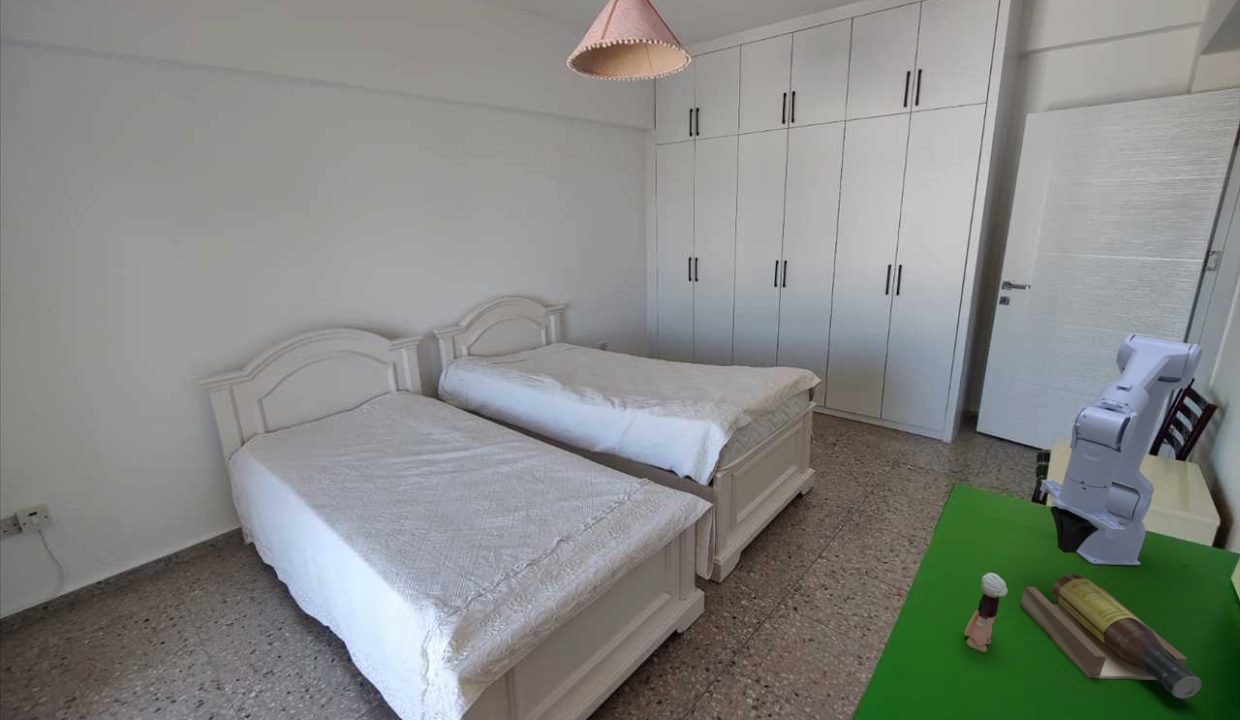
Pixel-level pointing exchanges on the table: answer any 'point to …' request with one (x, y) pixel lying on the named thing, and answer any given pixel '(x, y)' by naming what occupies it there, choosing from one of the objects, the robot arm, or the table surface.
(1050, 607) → the u rest
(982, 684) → the table surface
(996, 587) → the grandmother figurine
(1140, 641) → the sauce bottle
